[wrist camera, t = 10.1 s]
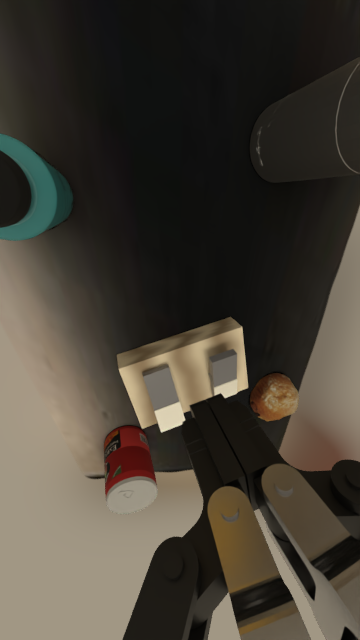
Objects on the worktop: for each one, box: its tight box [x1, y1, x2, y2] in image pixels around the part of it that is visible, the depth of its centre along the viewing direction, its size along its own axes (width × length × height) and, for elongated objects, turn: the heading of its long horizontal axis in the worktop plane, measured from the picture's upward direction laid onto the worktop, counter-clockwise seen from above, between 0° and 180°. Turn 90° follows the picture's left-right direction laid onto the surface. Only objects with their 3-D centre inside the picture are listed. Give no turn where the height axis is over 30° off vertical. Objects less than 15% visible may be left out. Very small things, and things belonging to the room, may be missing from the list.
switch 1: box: [142, 364, 185, 433], centre depth 40 cm, size 4×10×2 cm, turn 12°
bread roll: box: [250, 373, 299, 421], centre depth 53 cm, size 10×10×8 cm
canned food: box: [104, 426, 158, 514], centre depth 44 cm, size 8×8×11 cm
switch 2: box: [209, 349, 237, 398], centre depth 42 cm, size 4×10×2 cm, turn 12°
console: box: [117, 317, 248, 429], centre depth 44 cm, size 20×13×4 cm, turn 102°
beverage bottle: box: [0, 133, 74, 241], centre depth 21 cm, size 6×7×20 cm
